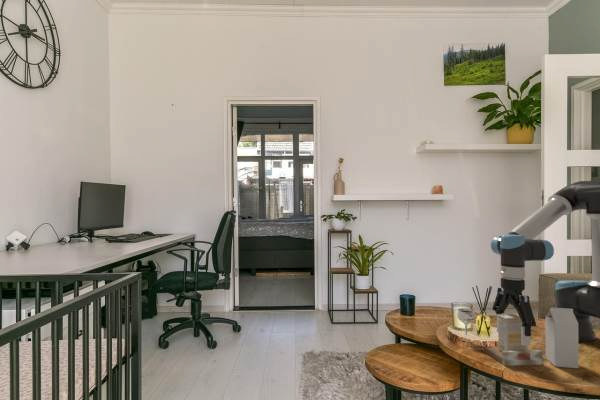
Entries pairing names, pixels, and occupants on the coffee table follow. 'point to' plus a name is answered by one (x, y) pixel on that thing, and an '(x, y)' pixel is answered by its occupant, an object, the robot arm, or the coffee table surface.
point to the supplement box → (510, 333)
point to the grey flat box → (515, 356)
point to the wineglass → (466, 316)
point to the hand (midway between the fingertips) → (512, 338)
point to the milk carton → (562, 338)
